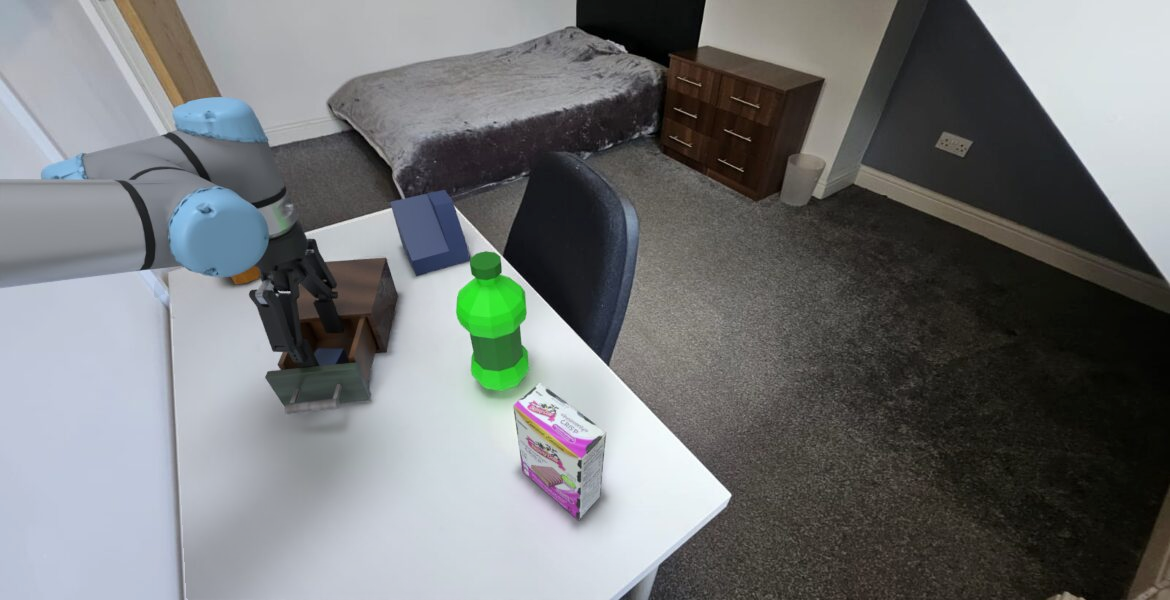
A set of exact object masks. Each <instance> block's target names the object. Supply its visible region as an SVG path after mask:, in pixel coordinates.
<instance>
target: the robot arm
mask: <svg viewBox="0 0 1170 600" xmlns="http://www.w3.org/2000/svg"><path fill="white" fill-rule="evenodd" d="M171 115H172V119H173V121H174V124H173V125H174V127H175V129H176V130H171V131H169V132H166V133H163V134H161V135H157V136H153V137H149V138H145V139H141V140H137V141H132V142H129V143H125V144H121V145H117V146H112V147H109V148H104V149H100V150H97V151H92V152H89V153H86V152H80V153H78V154H76V156H73V157H70V158H66V159H64V160H61V161H58V162H55V163H52V164H48V165H46V166H45V167H44V168H43V169H42V170H41V172H40V178H0V289H7V288H14V287H21V286H22V287H23V286H30V285H39V284H47V283H52V282H61V281H70V280H76V279H77V280H78V279H85V278H94V277H102V276H109V275H115V274H125V273H132V272H141V271H148V270H159V269H168V268H176V267H182V268H185V269H186V270H187V271H189V272H192V273H196V274H201V275H202V276H207V277H211V278H212V277H213V278H214V277H215V278H229V277H231V276H234V275H238V274H240V273H242V272H245V271H246V270H248V269H250V268H251V267H253V266H256V267H257V268H258V269H259V271H260V277H259V278H260V281H261V284H260V286H259V287H258V289H250V290H249V293H248V296H249V298H250V300H251V301H252V303H253V304H254V305H255V306H256V309H257V311H258V315H259V318H260V320H261V323H262V326H263V328H264V331H265V334H266V337H267V340H268V343H269V345H270V348H271V351H272V352H273V353H283V352H288V353H289V355H290V356H291V358H292V360H293V362H295V363H296V364H297V366H298V367H299V368H305V367H315V366H320V365H319V363H318V361H317V359H316V357H315V355H314V353H313V351H312V349H311V347H310V345H309V343H308V341H307V339H302V335H301V327H300V320H299V313H298V306H297V299H298V298H299V297H300V294H299V287H298V286H299V284H301V285H302V286H303V287H304V288H305V289H306V290H307V291H308V292H309V293H311V294H312V295H313V296H314V297H315V298H318V299H319V300H315V301H314V303H313V304H314V306H315V308H316V311H317V313H318V315H319V318H320V320H321V322H322V324H323V327H324V329H325V331H326V333H343V332H344V328H343V326H342V323H341V321H340V318H339V316H338V313H337V311H336V307H335V304H334V302H333V299H337V298H338V292H332V289H335V288H336V286H337V283H336V281H335V279H334V278H333V276H332V274H331V272H330V270H329V269H328V267H327V265H326V263H325V262H326V261H325V260H324V258H323V256H322V254H321V252H320V250H319V246H318V243H317V240H316V239H315V238H308V237H307V236H306V233H305V230H304V228H303V225H302V223H301V221H300V220H299V219H298V214H297V212H296V209H295V206H294V204H293V201H292V199H291V198H290V195H289V193H288V190H287V187H286V185H285V182H284V180H283V178H282V174H281V173H280V172H281V171H280V169H279V167H278V164H277V162H276V159H275V156H274V154H273V151H272V149H271V146H270V143H269V141H270V140H269V138H268V136H267V134H266V133H265V131H264V128H263V126H262V124H261V122H260V120H259V118H258V117H257V115H256V113H255V111H254V109H253V107H252V106H251V105H250V104H248V103H247V102H246V101H245V100H241V99H238V98H235V97H228V96H214V97H204V98H198V99H193V100H189V101H186V103H181V104H178V105H177V106H175V107H174V108H173V109H172V112H171ZM323 280H326V281H323Z"/></svg>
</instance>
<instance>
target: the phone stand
mask: <svg viewBox="0 0 1170 600" xmlns="http://www.w3.org/2000/svg"><path fill="white" fill-rule="evenodd" d="M389 204H390V207H391V211H392V215H393V218H394V222H395V225H396V228H397V232H398V235H399V239H400V242H401V246H402V249H403V251H404V253H405V256H406V258H407V260H408V262H409V264H410V265H411V268H412V271H413V272H414V275H415V277H418V276H422V275H425V274H429V273H432V272H435V271H440V270H442V269H446V268H449V267H453V266H457V265H461V264H463V263H467V262H470V255H469V247H468V244H467V241H466V238H465V235H464V231H463V229H462V225H461V221H460V219H459V216H458V213H457V210H456V207H455V204H454V200H452V197H450V195H449V193H447V190H445V189H442V190H437V191H432V192H428V193H424V194H419V195H415V196H414V195H413V196H410V197H405V198H401V199H396V200H392V201H389Z"/></svg>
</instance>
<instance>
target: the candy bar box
mask: <svg viewBox="0 0 1170 600" xmlns="http://www.w3.org/2000/svg"><path fill="white" fill-rule="evenodd" d="M512 407H513V408H512V409H513V414H514V421H515V428H516V436H517V443H518V449H519V457H520V464H521V471H522V473H523V474H525V475H526V477H528V478H529V479H530V480H531V481H532V482H534V483H535V484H536V485H537V486H539V488H541V489H542V490H543V491H544V492H545V493H547V495H549V496H550V497H551V498H552V499H553V500H554V501H556V502H557V503H558V504H559V505H561V507H562V508H563V509H565V510H566V511H567V512H568V513H569V514H570V515H571V516H573V518H575V519H576V520H577V521H580V520H581V519H582V518H583V517H584V515H586V513H587V512H588V510H589V509H590V508H592V506H593V505H594V504H595V503H596V502H597V501H598V500H599V499H600V497H601V493H602V483H603V482H602V480H603V469H604V461H605V459H604V458H605V449H606V440H607V439H606V437H607V431H605V430H604V429H603V428H601V427H600V426H599V425H598V424H596V423H595V422H593V421H592V420H591V419H589V418H588V417H587V416H586V415H584V414H583V413H581V412H580V411H579V410H578V409H576V408H575V407H573V406H572V405H570V404H569V403H568V402H567V401H566V400H564V399H563V398H562V397H560V396H559V395H557V394H556V393H554V392H553V391H552V390H551V389H549V387H547V386H545V385H543V384H542V383H541V382H538V383H537V384H536V385H535V386H534V387H532V389H531V390H529V391H528V392H527V393H526V394H524V396H523V397H521V398H520V399H518V400H517V401H516V402H515V403H514V404H513V405H512Z"/></svg>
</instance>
